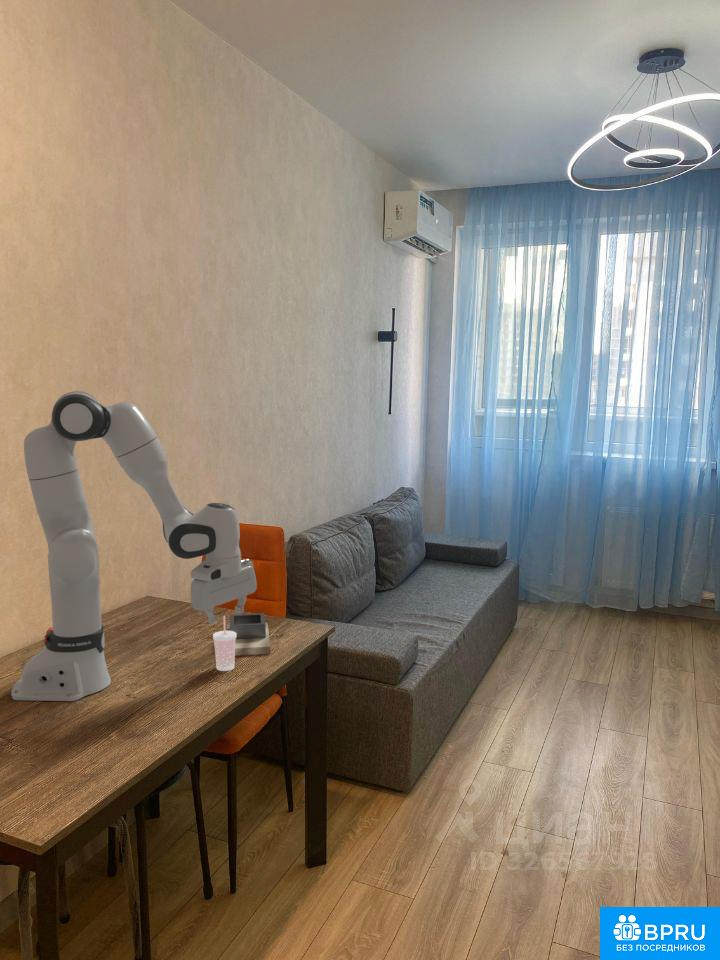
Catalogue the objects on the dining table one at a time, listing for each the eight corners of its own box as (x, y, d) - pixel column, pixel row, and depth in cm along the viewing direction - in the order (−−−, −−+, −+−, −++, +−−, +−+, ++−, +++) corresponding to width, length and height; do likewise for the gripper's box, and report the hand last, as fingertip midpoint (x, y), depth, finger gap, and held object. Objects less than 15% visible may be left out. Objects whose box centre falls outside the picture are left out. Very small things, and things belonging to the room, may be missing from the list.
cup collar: (229, 639, 210) (229, 626, 209) (230, 627, 220) (229, 614, 219) (265, 637, 212) (265, 624, 211) (264, 626, 221) (264, 613, 221)
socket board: (226, 656, 203) (225, 649, 203) (227, 631, 223) (226, 624, 223) (270, 653, 205) (270, 646, 205) (267, 629, 225) (267, 622, 224)
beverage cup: (223, 661, 200) (222, 610, 198) (242, 665, 197) (241, 614, 195) (208, 669, 194) (207, 617, 192) (227, 673, 191) (226, 621, 189)
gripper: (243, 555, 202) (246, 604, 204) (185, 573, 185) (188, 626, 188) (261, 558, 198) (263, 608, 200) (202, 576, 182) (205, 631, 184)
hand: (226, 617), depth 194 cm, fingers open, 8 cm apart
